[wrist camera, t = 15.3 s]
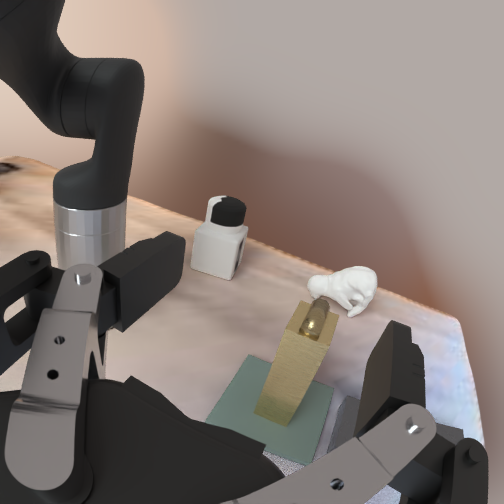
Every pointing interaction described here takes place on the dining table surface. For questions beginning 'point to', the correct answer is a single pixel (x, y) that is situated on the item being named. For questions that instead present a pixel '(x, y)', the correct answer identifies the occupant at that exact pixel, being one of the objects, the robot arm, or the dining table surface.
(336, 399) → the dining table surface
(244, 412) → the mat
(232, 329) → the dining table surface
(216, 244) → the container
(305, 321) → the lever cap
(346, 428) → the plane body
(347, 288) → the white humped figurine
